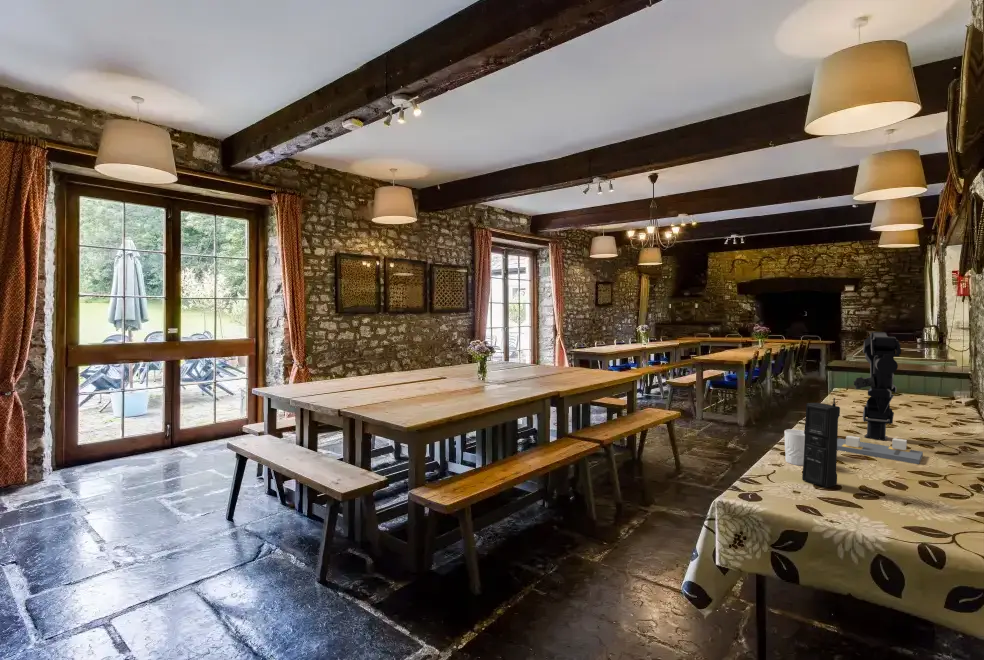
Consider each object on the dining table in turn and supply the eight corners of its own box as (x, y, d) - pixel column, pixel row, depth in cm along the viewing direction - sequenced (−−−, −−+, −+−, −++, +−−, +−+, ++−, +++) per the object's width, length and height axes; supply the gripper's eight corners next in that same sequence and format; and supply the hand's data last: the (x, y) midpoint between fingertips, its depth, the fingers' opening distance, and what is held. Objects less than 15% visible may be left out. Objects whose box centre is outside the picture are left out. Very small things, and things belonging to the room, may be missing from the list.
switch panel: (838, 442, 185) (838, 437, 185) (922, 455, 168) (922, 451, 168) (830, 449, 176) (830, 444, 176) (918, 464, 159) (919, 459, 159)
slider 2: (893, 446, 173) (893, 438, 173) (906, 448, 170) (906, 440, 170) (891, 448, 171) (892, 439, 171) (905, 450, 168) (905, 441, 168)
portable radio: (797, 479, 144) (800, 394, 143) (810, 476, 147) (813, 393, 146) (824, 488, 137) (827, 399, 136) (838, 485, 140) (841, 397, 138)
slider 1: (847, 443, 176) (847, 435, 176) (859, 445, 174) (860, 437, 173) (845, 445, 174) (845, 437, 174) (858, 447, 171) (858, 438, 171)
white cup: (802, 468, 155) (803, 436, 155) (778, 461, 162) (779, 430, 162) (817, 464, 159) (818, 433, 158) (792, 457, 166) (793, 428, 165)
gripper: (860, 367, 191) (859, 407, 192) (851, 371, 178) (849, 414, 179) (897, 369, 183) (895, 411, 184) (890, 374, 170) (888, 419, 171)
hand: (881, 413), depth 179 cm, fingers closed
